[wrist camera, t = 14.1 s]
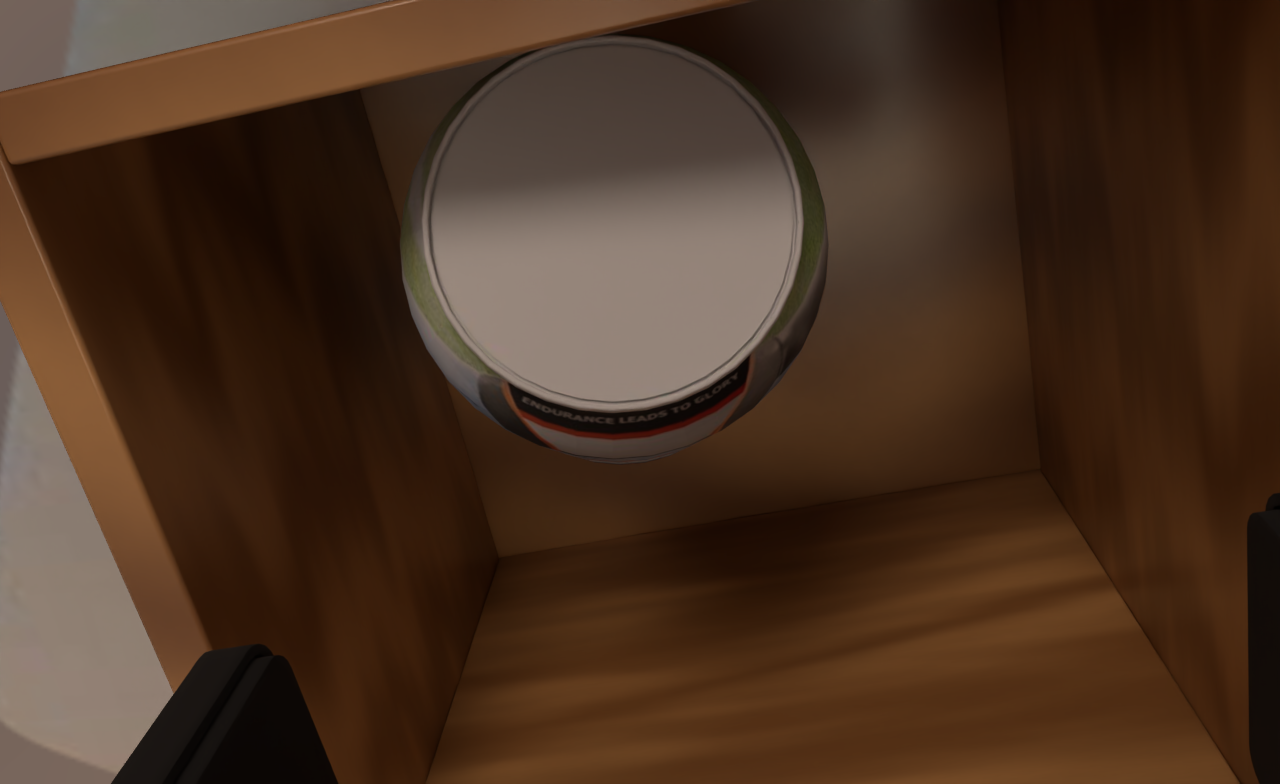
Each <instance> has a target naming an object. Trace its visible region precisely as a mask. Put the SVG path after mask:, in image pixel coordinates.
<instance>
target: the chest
mask: <svg viewBox="0 0 1280 784" xmlns="http://www.w3.org/2000/svg"><path fill="white" fill-rule="evenodd" d="M614 33H617V34H628V35H639V36H650V37H655V38H659V39H662V40H666V41H670V42H674V43H677V44H681V45H685V46H688V47H690V48H692V49H695V50H697V51H699V52H701V53H703V54H706V55H708V56H710V57H712V58H714V59H716V60H719V61H721V62H722V63H724V64H725V65H727V66H728V67H729V68H731V69H732V70H734V71H735V72H737V73H738V74H740V75H741V76H743V77H744V78H746V79H747V80H748V81H750V82H751V83H752V84H753V85H754V86H755V87H756V88H757V89H758V90H759V91H760V92H761V93H762V94H763V95H764V96H765V97H767V98H768V99H769V100H770V101H771V102H772V103H773V104H774V105H775V106H776V107H777V108H778V110H779V111H780V113H781V114H782V115H783V117H784V118H785V120H786V121H787V122H788V124H789V125H790V126H791V128H792V129H793V131H794V132H795V133H796V135H797V136H798V138H799V139H800V141H801V143H802V146H803V148H804V150H805V152H806V154H807V156H808V158H809V160H810V162H811V164H812V166H813V168H814V170H815V173H816V177H817V180H818V184H819V187H820V191H821V195H822V198H823V202H824V205H825V212H826V222H827V233H828V243H829V247H828V260H827V273H826V283H825V286H824V290H823V294H822V298H821V302H820V306H819V309H818V313H817V317H816V319H815V321H814V324H813V326H812V328H811V330H810V332H809V335H808V337H807V339H806V341H805V343H804V345H803V348H802V350H801V352H800V353H799V355H798V356H797V358H796V359H795V360H794V362H793V363H792V365H791V366H790V368H789V369H788V371H787V372H786V373H785V375H784V376H783V378H782V379H781V381H780V382H779V383H778V384H777V385H776V386H775V387H774V388H773V389H772V390H771V391H770V392H769V393H768V394H767V395H766V396H765V397H764V398H763V399H762V400H761V401H760V402H759V403H758V404H757V405H756V406H755V407H754V408H753V409H752V410H750V411H749V412H748V413H746V414H745V415H743V416H742V417H740V418H739V419H738V420H736V421H735V422H733V423H732V424H730V425H729V426H728V427H726V428H725V429H723V430H722V431H720V432H718V433H716V434H714V435H712V436H710V437H708V438H706V439H704V440H702V441H700V442H698V443H696V444H694V445H692V446H690V447H687V448H685V449H683V450H681V451H679V452H677V453H675V454H672V455H670V456H668V457H665V458H661V459H657V460H654V461H650V462H646V463H638V464H626V465H615V464H604V463H596V462H592V461H588V460H584V459H581V458H577V457H573V456H570V455H567V454H564V453H561V452H558V451H555V450H551V449H548V448H545V447H542V446H539V445H537V444H535V443H533V442H531V441H528V440H526V439H524V438H522V437H520V436H518V435H516V434H514V433H511V432H509V431H507V430H505V429H504V428H502V427H501V426H500V425H498V424H497V423H495V422H494V421H493V420H491V419H490V418H488V417H487V416H486V415H484V414H483V413H481V412H480V411H478V410H477V409H476V408H474V407H473V406H472V404H471V403H470V402H469V401H468V400H467V399H466V398H465V397H464V396H463V395H462V394H461V393H460V392H459V391H458V390H457V389H456V388H455V387H454V386H453V385H452V384H451V383H450V382H449V381H448V380H447V378H446V377H445V375H444V374H443V372H442V371H441V369H440V368H439V367H438V365H437V364H436V362H435V361H434V359H433V358H432V356H431V355H430V353H429V352H428V350H427V349H426V346H425V344H424V342H423V340H422V338H421V335H420V333H419V331H418V329H417V327H416V324H415V322H414V320H413V318H412V315H411V311H410V307H409V303H408V299H407V295H406V291H405V287H404V283H403V279H402V264H401V250H400V237H401V227H402V218H403V209H404V203H405V200H406V196H407V193H408V189H409V186H410V182H411V179H412V176H413V172H414V169H415V167H416V165H417V163H418V161H419V159H420V157H421V155H422V153H423V151H424V149H425V147H426V145H427V143H428V141H429V139H430V137H431V135H432V134H433V132H434V131H435V130H436V128H437V127H438V126H439V124H440V123H441V121H442V120H443V119H444V117H445V116H446V115H447V113H448V112H449V111H450V109H451V108H452V106H453V105H454V104H456V103H457V102H458V101H459V100H460V99H461V98H462V97H463V96H464V95H465V94H466V93H467V92H468V91H469V90H470V89H471V88H472V87H473V86H474V85H475V84H476V83H477V82H478V81H480V80H481V79H483V78H484V77H486V76H487V75H489V74H490V73H492V72H493V71H495V70H496V69H498V68H499V67H500V66H502V65H503V64H505V63H506V62H508V61H509V60H512V59H514V58H516V57H518V56H521V55H523V54H525V53H527V52H529V51H533V50H537V49H542V48H546V47H551V46H555V45H560V44H564V43H569V42H573V41H578V40H582V39H587V38H591V37H596V36H600V35H605V34H614ZM0 301H1V303H2V306H3V308H4V310H5V312H6V315H7V317H8V319H9V321H10V324H11V326H12V328H13V331H14V333H15V335H16V337H17V340H18V342H19V344H20V346H21V349H22V351H23V353H24V355H25V358H26V360H27V362H28V365H29V367H30V369H31V371H32V374H33V376H34V378H35V380H36V383H37V385H38V387H39V389H40V392H41V394H42V396H43V398H44V401H45V403H46V405H47V408H48V410H49V412H50V414H51V417H52V419H53V421H54V423H55V426H56V428H57V430H58V432H59V435H60V437H61V439H62V441H63V444H64V446H65V448H66V451H67V453H68V455H69V457H70V460H71V462H72V464H73V466H74V469H75V471H76V473H77V475H78V478H79V480H80V482H81V485H82V487H83V489H84V491H85V494H86V496H87V498H88V500H89V503H90V505H91V507H92V509H93V512H94V514H95V516H96V518H97V521H98V523H99V525H100V528H101V530H102V532H103V534H104V537H105V539H106V541H107V543H108V546H109V548H110V550H111V552H112V555H113V557H114V559H115V561H116V564H117V566H118V568H119V571H120V573H121V575H122V577H123V580H124V582H125V584H126V586H127V589H128V591H129V593H130V595H131V598H132V600H133V602H134V604H135V607H136V609H137V611H138V614H139V616H140V618H141V620H142V623H143V625H144V627H145V629H146V632H147V634H148V636H149V638H150V641H151V643H152V645H153V647H154V650H155V652H156V654H157V657H158V659H159V661H160V663H161V666H162V668H163V670H164V672H165V675H166V677H167V679H168V681H169V684H170V686H171V688H172V691H173V693H175V691H176V690H177V689H178V687H179V686H180V684H181V683H182V681H183V680H184V679H185V677H186V676H187V674H188V673H189V671H190V670H191V669H192V667H193V666H194V664H195V663H196V661H197V660H198V659H199V658H200V657H201V656H202V655H203V654H204V653H205V652H208V651H211V650H218V649H225V648H232V647H238V646H245V645H252V644H262V645H266V646H267V647H268V648H269V649H270V650H271V651H272V653H273V655H281V656H284V657H285V658H286V659H287V660H288V662H289V664H290V666H291V667H292V670H293V672H294V675H295V677H296V680H297V682H298V685H299V687H300V690H301V692H302V695H303V697H304V700H305V702H306V704H307V707H308V709H309V712H310V714H311V717H312V719H313V722H314V724H315V727H316V729H317V732H318V734H319V737H320V739H321V742H322V744H323V746H324V749H325V751H326V754H327V756H328V759H329V761H330V764H331V766H332V769H333V771H334V774H335V776H336V779H337V781H338V784H1259V782H1258V779H1257V777H1256V774H1255V771H1254V768H1253V765H1252V761H1251V756H1250V749H1249V693H1248V591H1247V522H1248V519H1249V516H1250V515H1251V514H1252V513H1256V512H1263V511H1265V509H1266V504H1267V501H1268V498H1269V497H1270V496H1271V495H1272V494H1275V493H1280V0H393V1H388V2H384V3H380V4H376V5H371V6H367V7H363V8H358V9H354V10H350V11H345V12H341V13H337V14H333V15H328V16H324V17H320V18H315V19H311V20H307V21H302V22H298V23H294V24H290V25H285V26H281V27H277V28H272V29H268V30H264V31H259V32H255V33H251V34H247V35H242V36H238V37H234V38H229V39H225V40H221V41H217V42H212V43H208V44H204V45H199V46H195V47H191V48H186V49H182V50H178V51H174V52H169V53H165V54H161V55H156V56H152V57H148V58H143V59H139V60H135V61H131V62H126V63H122V64H118V65H113V66H109V67H105V68H100V69H96V70H92V71H88V72H83V73H79V74H75V75H70V76H66V77H62V78H57V79H53V80H49V81H45V82H40V83H36V84H32V85H28V86H23V87H19V88H15V89H10V90H6V91H2V92H0Z"/></svg>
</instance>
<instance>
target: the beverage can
mask: <svg viewBox="0 0 1280 784" xmlns="http://www.w3.org/2000/svg"><path fill="white" fill-rule="evenodd" d="M828 247H829V243H828V233H827V222H826V212H825V205H824V202H823V198H822V195H821V191H820V187H819V184H818V180H817V177H816V173H815V170H814V168H813V166H812V164H811V162H810V160H809V158H808V156H807V154H806V152H805V150H804V148H803V146H802V143H801V141H800V139H799V138H798V136H797V135H796V133H795V132H794V131H793V129H792V128H791V126H790V125H789V124H788V122H787V121H786V120H785V118H784V117H783V115H782V114H781V113H780V111H779V110H778V108H777V107H776V106H775V105H774V104H773V103H772V102H771V101H770V100H769V99H768V98H767V97H765V96H764V95H763V94H762V93H761V92H760V91H759V90H758V89H757V88H756V87H755V86H754V85H753V84H752V83H751V82H750V81H748V80H747V79H746V78H744V77H743V76H741V75H740V74H738V73H737V72H735V71H734V70H732V69H731V68H729V67H728V66H727V65H725V64H724V63H722V62H721V61H719V60H716V59H714V58H712V57H710V56H708V55H706V54H703V53H701V52H699V51H697V50H695V49H692V48H690V47H688V46H685V45H681V44H677V43H674V42H670V41H666V40H662V39H659V38H655V37H650V36H639V35H628V34H617V33H614V34H605V35H600V36H596V37H591V38H587V39H582V40H578V41H573V42H569V43H564V44H560V45H555V46H551V47H546V48H542V49H537V50H533V51H529V52H527V53H525V54H523V55H521V56H518V57H516V58H514V59H512V60H509V61H508V62H506V63H505V64H503V65H502V66H500V67H499V68H498V69H496V70H495V71H493V72H492V73H490V74H489V75H487V76H486V77H484V78H483V79H481V80H480V81H478V82H477V83H476V84H475V85H474V86H473V87H472V88H471V89H470V90H469V91H468V92H467V93H466V94H465V95H464V96H463V97H462V98H461V99H460V100H459V101H458V102H457V103H456V104H454V105H453V106H452V108H451V109H450V111H449V112H448V113H447V115H446V116H445V117H444V119H443V120H442V121H441V123H440V124H439V126H438V127H437V128H436V130H435V131H434V132H433V134H432V135H431V137H430V139H429V141H428V143H427V145H426V147H425V149H424V151H423V153H422V155H421V157H420V159H419V161H418V163H417V165H416V167H415V169H414V172H413V176H412V179H411V182H410V186H409V189H408V193H407V196H406V200H405V203H404V209H403V218H402V227H401V237H400V250H401V264H402V279H403V283H404V287H405V291H406V295H407V299H408V303H409V307H410V311H411V315H412V318H413V320H414V322H415V324H416V327H417V329H418V331H419V333H420V335H421V338H422V340H423V342H424V344H425V346H426V349H427V350H428V352H429V353H430V355H431V356H432V358H433V359H434V361H435V362H436V364H437V365H438V367H439V368H440V369H441V371H442V372H443V374H444V375H445V377H446V378H447V380H448V381H449V382H450V383H451V384H452V385H453V386H454V387H455V388H456V389H457V390H458V391H459V392H460V393H461V394H462V395H463V396H464V397H465V398H466V399H467V400H468V401H469V402H470V403H471V404H472V406H473V407H474V408H476V409H477V410H478V411H480V412H481V413H483V414H484V415H486V416H487V417H488V418H490V419H491V420H493V421H494V422H495V423H497V424H498V425H500V426H501V427H502V428H504V429H505V430H507V431H509V432H511V433H514V434H516V435H518V436H520V437H522V438H524V439H526V440H528V441H531V442H533V443H535V444H537V445H539V446H542V447H545V448H548V449H551V450H555V451H558V452H561V453H564V454H567V455H570V456H573V457H577V458H581V459H584V460H588V461H592V462H596V463H604V464H615V465H626V464H638V463H646V462H650V461H654V460H657V459H661V458H665V457H668V456H670V455H672V454H675V453H677V452H679V451H681V450H683V449H685V448H687V447H690V446H692V445H694V444H696V443H698V442H700V441H702V440H704V439H706V438H708V437H710V436H712V435H714V434H716V433H718V432H720V431H722V430H723V429H725V428H726V427H728V426H729V425H730V424H732V423H733V422H735V421H736V420H738V419H739V418H740V417H742V416H743V415H745V414H746V413H748V412H749V411H750V410H752V409H753V408H754V407H755V406H756V405H757V404H758V403H759V402H760V401H761V400H762V399H763V398H764V397H765V396H766V395H767V394H768V393H769V392H770V391H771V390H772V389H773V388H774V387H775V386H776V385H777V384H778V383H779V382H780V381H781V379H782V378H783V376H784V375H785V373H786V372H787V371H788V369H789V368H790V366H791V365H792V363H793V362H794V360H795V359H796V358H797V356H798V355H799V353H800V352H801V350H802V348H803V345H804V343H805V341H806V339H807V337H808V335H809V332H810V330H811V328H812V326H813V324H814V321H815V319H816V317H817V313H818V309H819V306H820V302H821V298H822V294H823V290H824V286H825V283H826V273H827V260H828Z"/></svg>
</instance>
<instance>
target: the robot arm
mask: <svg viewBox="0 0 1280 784" xmlns="http://www.w3.org/2000/svg"><path fill="white" fill-rule="evenodd" d="M1247 591H1248V693H1249V749H1250V756H1251V761H1252V765H1253V768H1254V771H1255V774H1256V777H1257V779H1258V782H1259V784H1280V493H1275V494H1272V495H1271V496H1270V497H1269V498H1268V501H1267V504H1266V509H1265V511H1263V512H1256V513H1252V514H1251V515H1250V516H1249V519H1248V522H1247ZM111 784H338V781H337V779H336V776H335V774H334V771H333V769H332V766H331V764H330V761H329V759H328V756H327V754H326V751H325V749H324V746H323V744H322V742H321V739H320V737H319V734H318V732H317V729H316V727H315V724H314V722H313V719H312V717H311V714H310V712H309V709H308V707H307V704H306V702H305V700H304V697H303V695H302V692H301V690H300V687H299V685H298V682H297V680H296V677H295V675H294V672H293V670H292V667H291V666H290V664H289V662H288V660H287V659H286V658H285V657H284V656H281V655H273V653H272V651H271V650H270V649H269V648H268V647H267V646H266V645H262V644H252V645H245V646H238V647H232V648H225V649H218V650H211V651H208V652H205V653H204V654H203V655H202V656H201V657H200V658H199V659H198V660H197V661H196V663H195V664H194V666H193V667H192V669H191V670H190V671H189V673H188V674H187V676H186V677H185V679H184V680H183V681H182V683H181V684H180V686H179V687H178V689H177V690H176V691H175V693H174V694H173V696H172V697H171V699H170V700H169V701H168V703H167V704H166V706H165V707H164V709H163V710H162V711H161V713H160V714H159V716H158V717H157V719H156V720H155V721H154V723H153V724H152V726H151V727H150V729H149V730H148V731H147V733H146V734H145V736H144V737H143V739H142V740H141V741H140V743H139V744H138V746H137V747H136V749H135V750H134V751H133V753H132V754H131V756H130V757H129V759H128V760H127V761H126V763H125V764H124V766H123V767H122V769H121V770H120V771H119V773H118V774H117V776H116V777H115V779H114V780H113V781H112V783H111Z"/></svg>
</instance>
